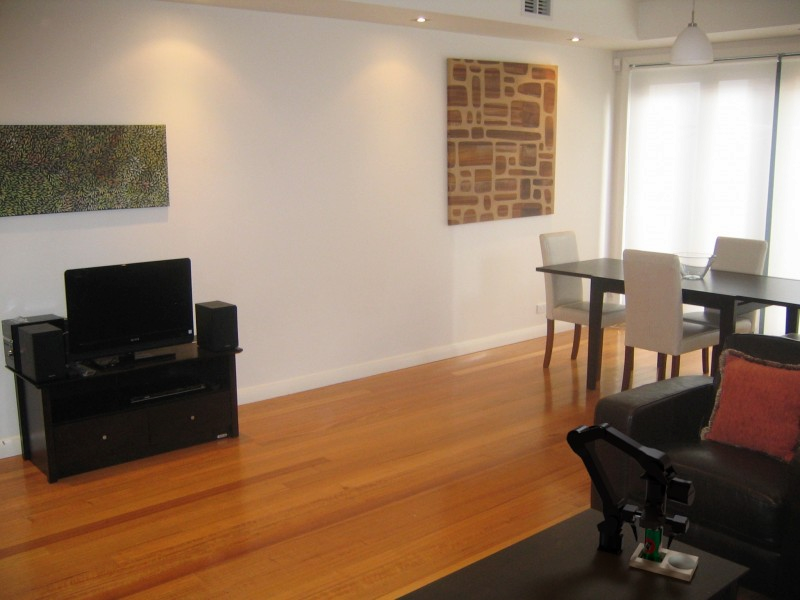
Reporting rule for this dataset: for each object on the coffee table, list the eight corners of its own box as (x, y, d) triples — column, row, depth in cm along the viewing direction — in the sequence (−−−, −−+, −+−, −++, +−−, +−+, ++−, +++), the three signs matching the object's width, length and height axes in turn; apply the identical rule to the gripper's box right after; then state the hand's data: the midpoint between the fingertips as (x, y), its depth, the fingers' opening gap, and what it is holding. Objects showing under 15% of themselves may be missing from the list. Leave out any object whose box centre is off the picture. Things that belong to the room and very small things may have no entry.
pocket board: (629, 565, 237) (629, 558, 236) (639, 548, 247) (640, 541, 247) (690, 581, 228) (691, 574, 228) (699, 563, 238) (699, 556, 238)
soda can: (661, 566, 236) (664, 528, 234) (643, 564, 237) (646, 526, 235) (659, 558, 241) (662, 520, 239) (642, 556, 242) (644, 519, 240)
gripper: (616, 498, 233) (613, 548, 236) (683, 513, 224) (679, 565, 227) (626, 485, 243) (623, 533, 246) (691, 498, 234) (687, 548, 236)
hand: (652, 545), depth 238 cm, fingers open, 9 cm apart
